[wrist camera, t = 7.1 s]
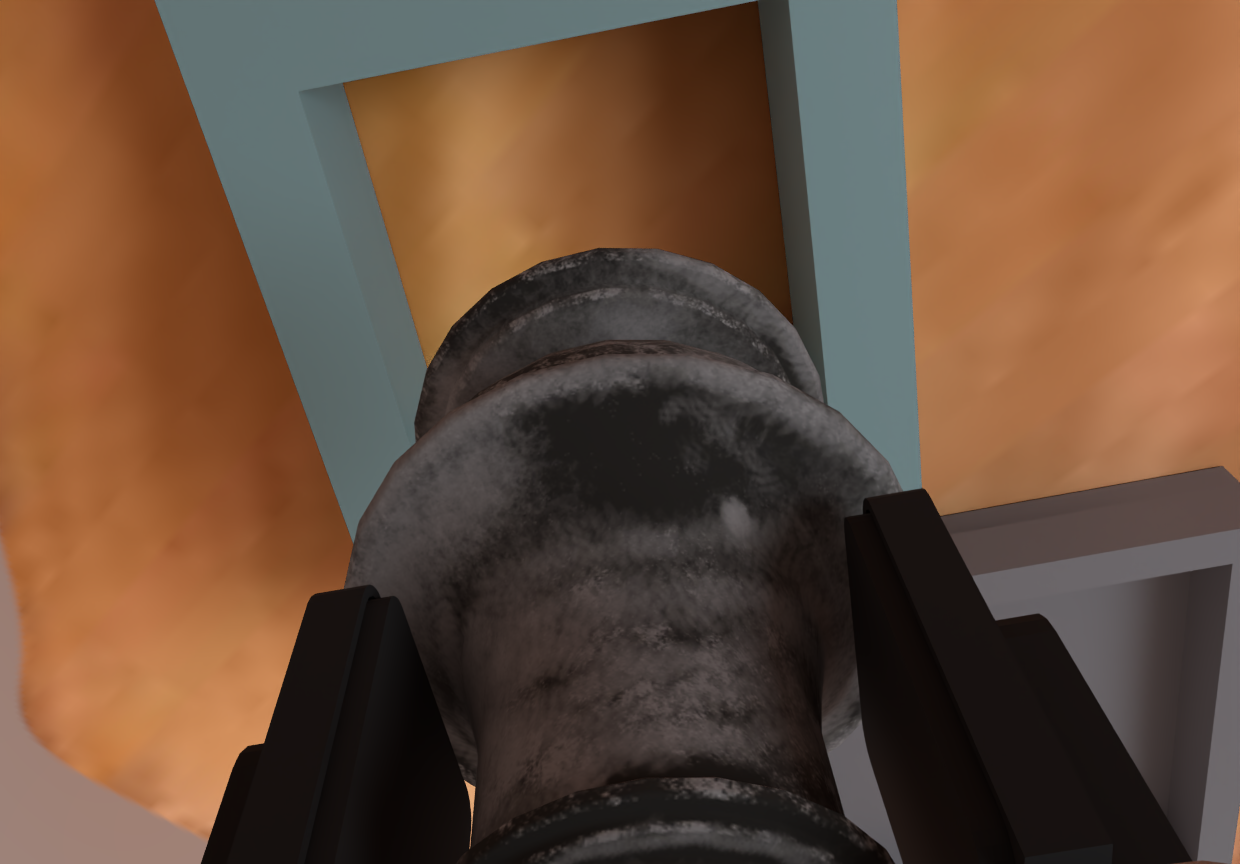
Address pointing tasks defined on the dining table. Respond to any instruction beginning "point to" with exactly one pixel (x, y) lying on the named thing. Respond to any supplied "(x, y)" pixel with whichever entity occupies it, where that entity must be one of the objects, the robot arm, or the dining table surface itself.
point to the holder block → (502, 20)
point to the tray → (1121, 634)
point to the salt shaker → (632, 568)
